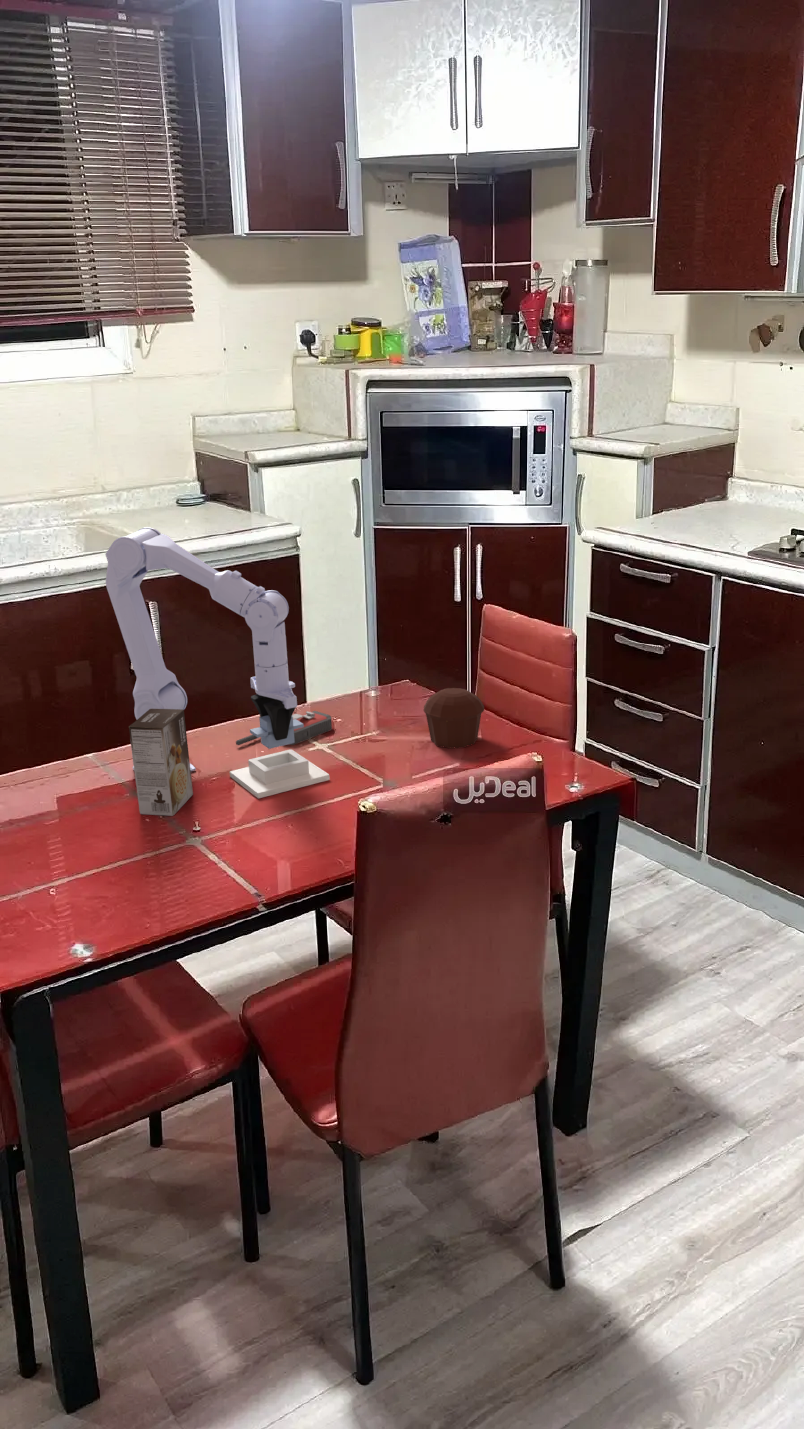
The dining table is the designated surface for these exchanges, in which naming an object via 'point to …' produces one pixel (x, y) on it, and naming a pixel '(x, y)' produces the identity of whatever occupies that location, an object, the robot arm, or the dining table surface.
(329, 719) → the walkie-talkie
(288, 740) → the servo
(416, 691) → the dining table surface
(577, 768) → the dining table surface
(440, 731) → the muffin
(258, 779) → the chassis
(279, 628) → the robot arm
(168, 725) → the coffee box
